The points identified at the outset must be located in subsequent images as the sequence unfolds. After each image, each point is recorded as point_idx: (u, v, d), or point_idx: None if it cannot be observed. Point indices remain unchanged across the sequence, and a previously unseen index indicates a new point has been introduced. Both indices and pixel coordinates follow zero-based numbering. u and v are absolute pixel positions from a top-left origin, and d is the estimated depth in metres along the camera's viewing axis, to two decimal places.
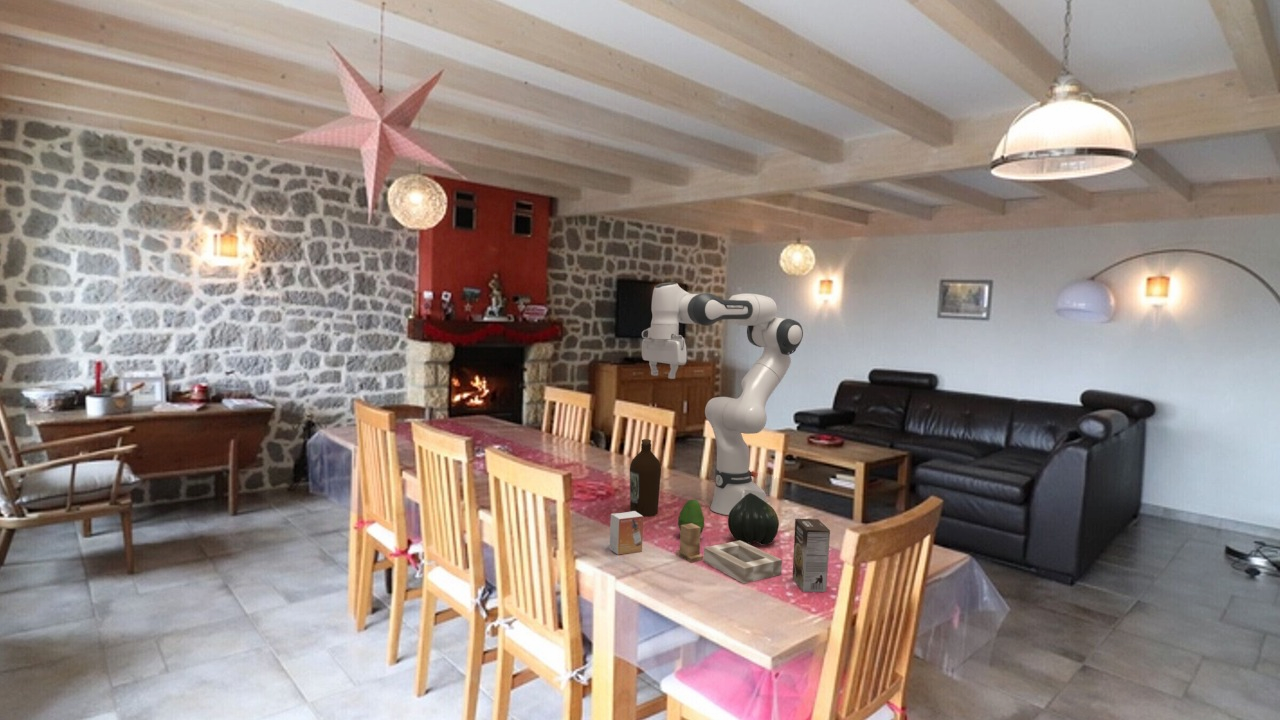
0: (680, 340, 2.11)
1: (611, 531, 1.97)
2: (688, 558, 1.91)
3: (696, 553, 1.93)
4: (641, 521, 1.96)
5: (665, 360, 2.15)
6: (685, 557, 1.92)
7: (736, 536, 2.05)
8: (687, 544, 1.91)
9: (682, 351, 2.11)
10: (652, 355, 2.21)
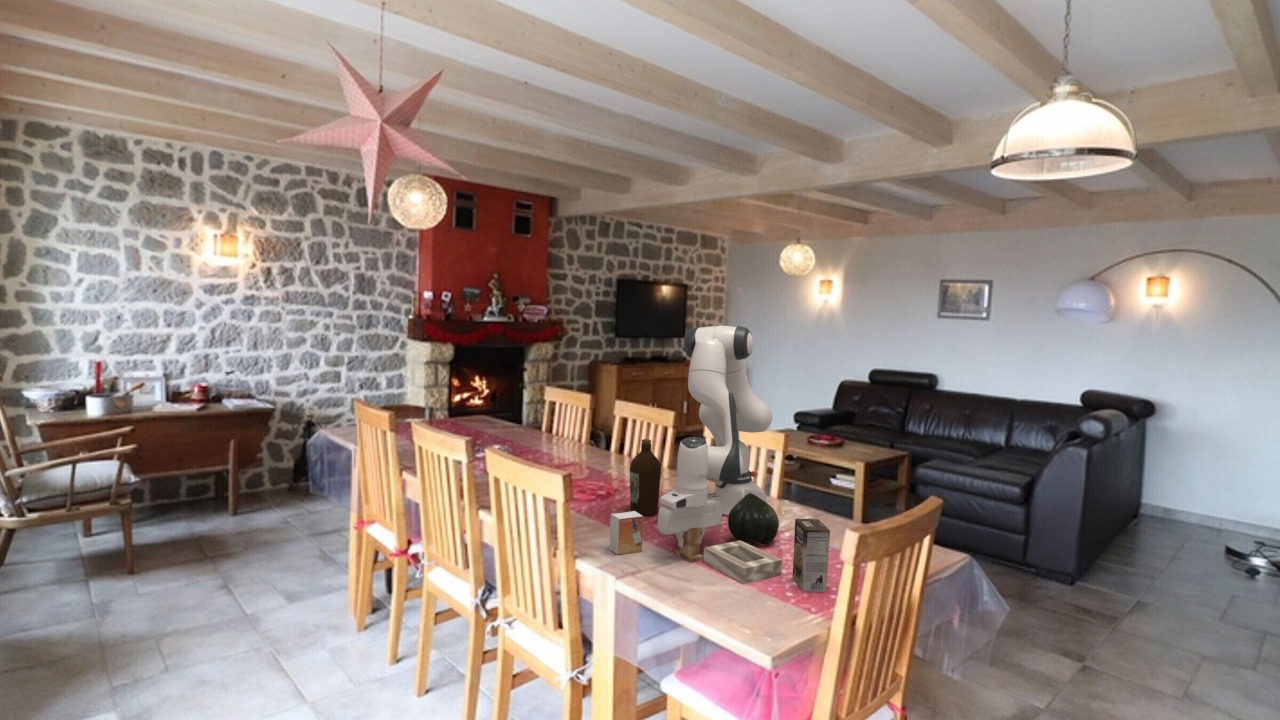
0: (718, 498, 1.97)
1: (611, 531, 1.97)
2: (688, 558, 1.91)
3: (696, 553, 1.93)
4: (641, 521, 1.96)
5: (705, 524, 1.94)
6: (685, 557, 1.92)
7: (736, 536, 2.05)
8: (687, 544, 1.91)
9: None
10: (684, 525, 1.90)
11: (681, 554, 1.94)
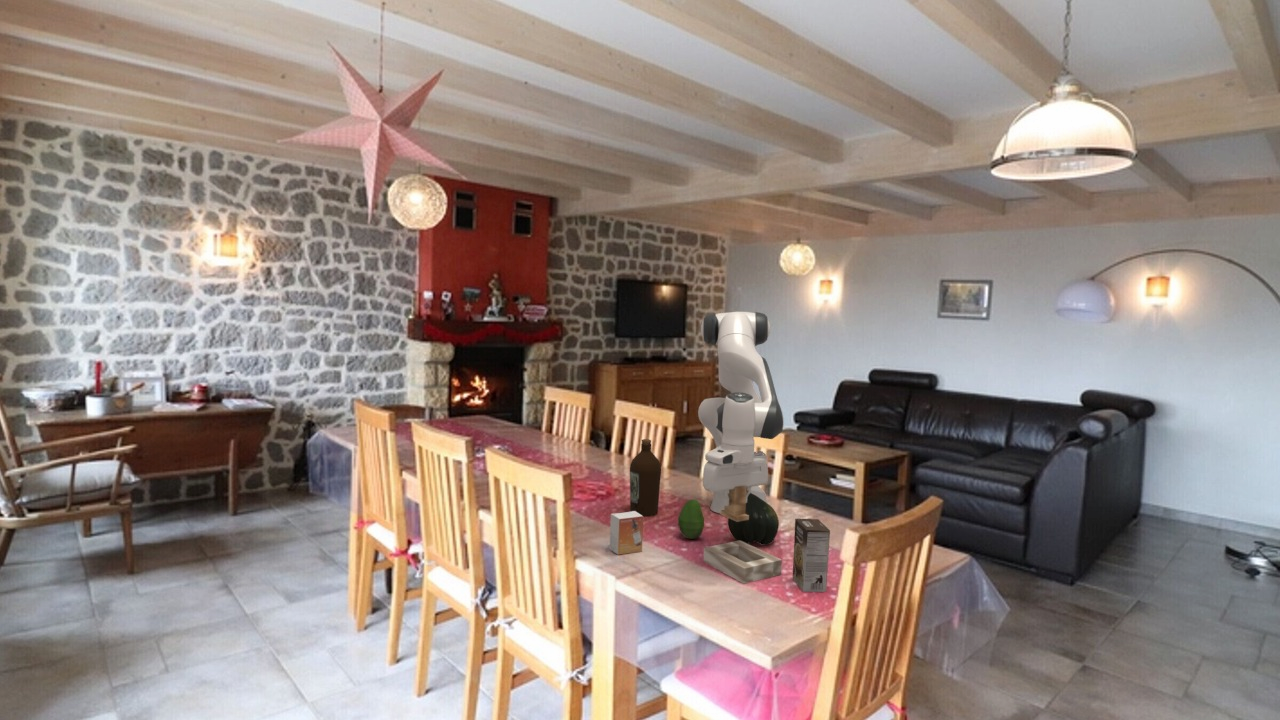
0: (763, 456, 1.90)
1: (611, 531, 1.97)
2: (734, 517, 1.84)
3: (742, 512, 1.86)
4: (641, 521, 1.96)
5: (751, 483, 1.87)
6: (730, 516, 1.85)
7: (736, 536, 2.05)
8: (733, 503, 1.84)
9: None
10: (730, 482, 1.83)
11: (726, 514, 1.87)
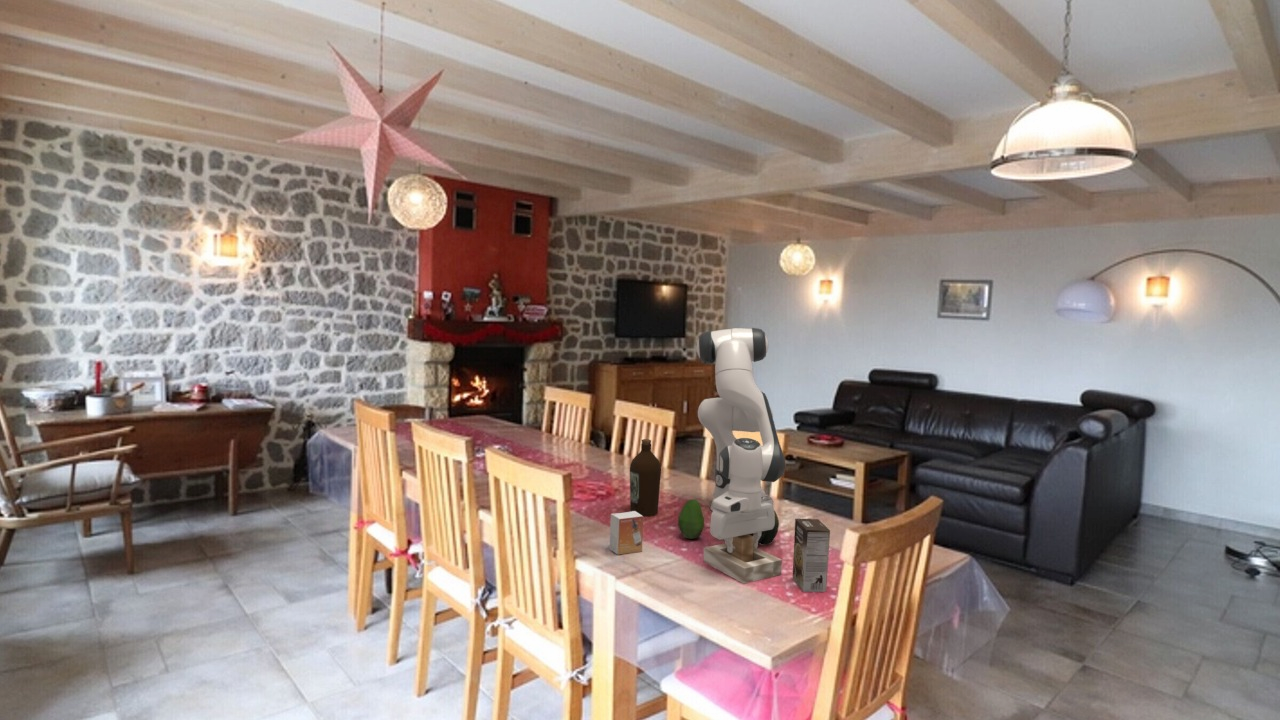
0: (770, 501, 1.90)
1: (611, 531, 1.97)
2: None
3: None
4: (641, 521, 1.96)
5: (758, 528, 1.87)
6: None
7: None
8: (740, 554, 1.85)
9: None
10: (737, 529, 1.83)
11: None
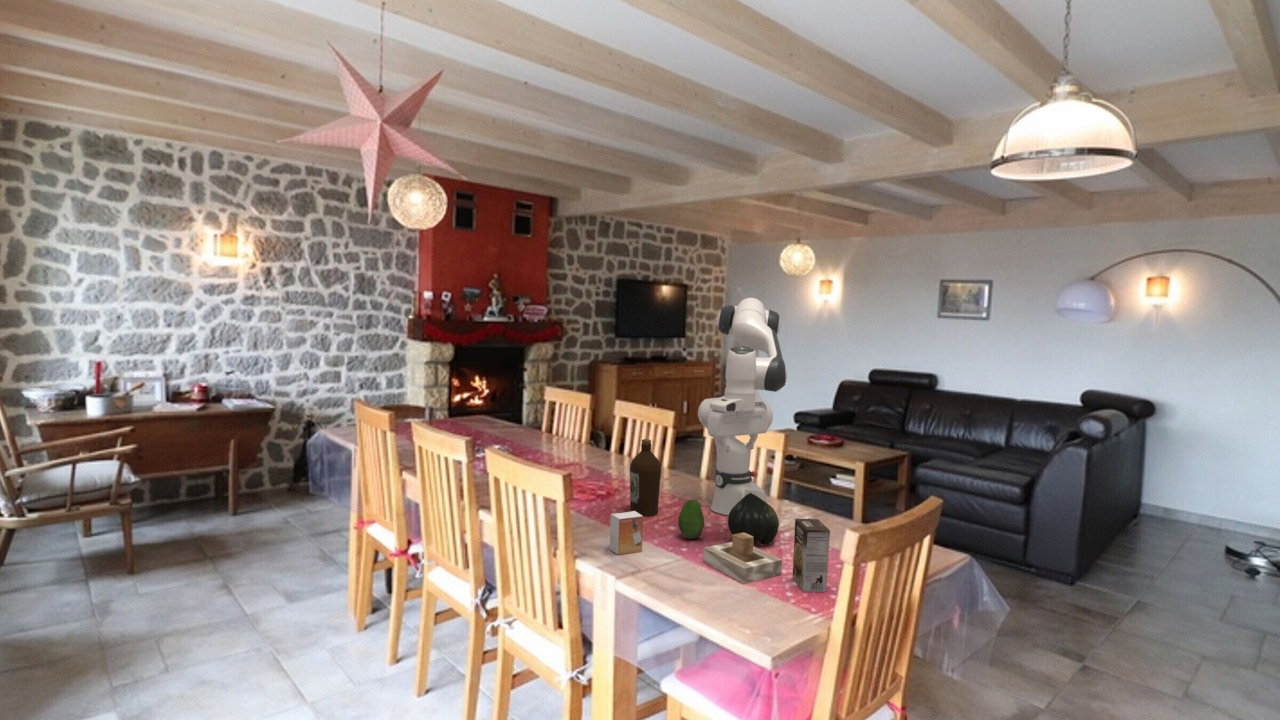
0: (764, 407, 2.04)
1: (611, 531, 1.97)
2: None
3: None
4: (641, 521, 1.96)
5: (752, 430, 2.00)
6: None
7: None
8: (740, 554, 1.85)
9: None
10: (733, 429, 1.96)
11: None
